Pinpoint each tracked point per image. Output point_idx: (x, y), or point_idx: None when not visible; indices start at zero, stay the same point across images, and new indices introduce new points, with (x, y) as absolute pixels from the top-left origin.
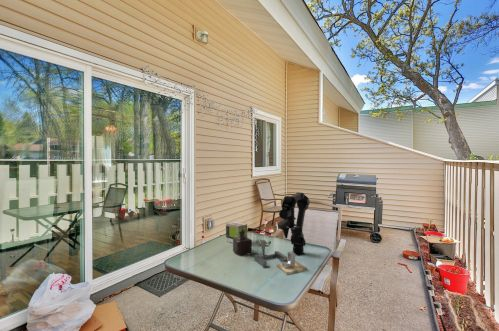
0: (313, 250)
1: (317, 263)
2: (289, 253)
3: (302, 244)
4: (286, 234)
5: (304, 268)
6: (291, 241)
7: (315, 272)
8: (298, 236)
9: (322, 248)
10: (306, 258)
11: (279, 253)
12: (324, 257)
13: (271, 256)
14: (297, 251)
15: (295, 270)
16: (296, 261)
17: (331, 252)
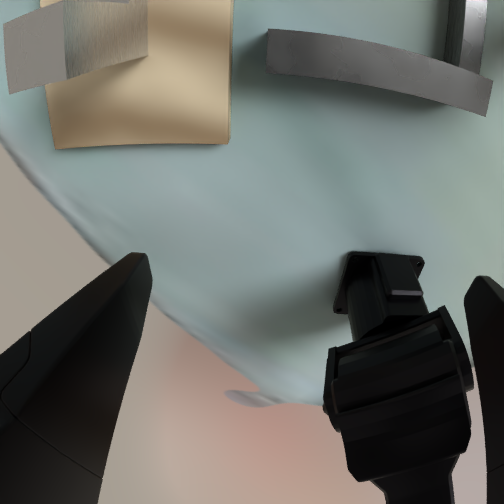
0: None
1: None
2: (24, 15)
3: (330, 360)
4: (501, 361)
5: (50, 123)
6: (449, 326)
7: (25, 172)
8: (366, 422)
9: None
10: (259, 269)
11: (420, 74)
12: (216, 349)
13: (457, 16)
14: (368, 282)
15: None
16: (201, 141)
17: (258, 397)
